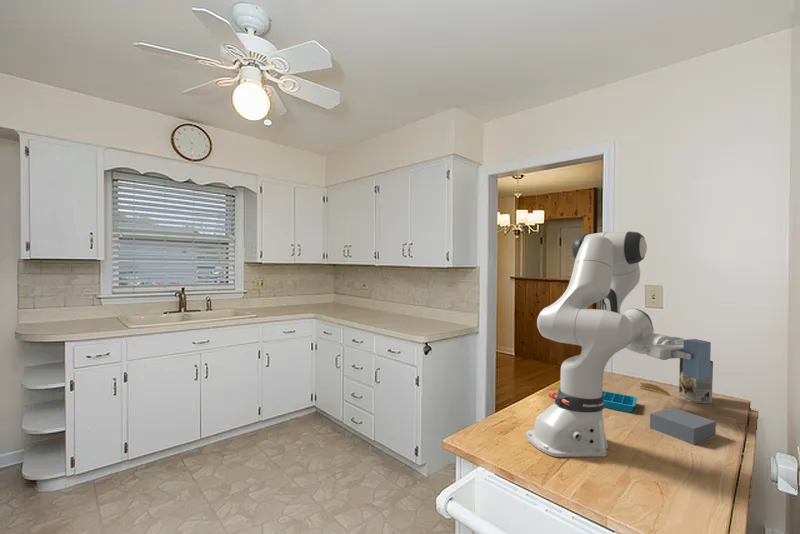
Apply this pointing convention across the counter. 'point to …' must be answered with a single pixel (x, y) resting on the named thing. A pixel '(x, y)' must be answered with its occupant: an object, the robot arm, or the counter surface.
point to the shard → (652, 388)
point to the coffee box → (696, 386)
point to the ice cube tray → (619, 401)
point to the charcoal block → (683, 425)
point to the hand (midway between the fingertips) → (699, 356)
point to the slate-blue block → (697, 359)
